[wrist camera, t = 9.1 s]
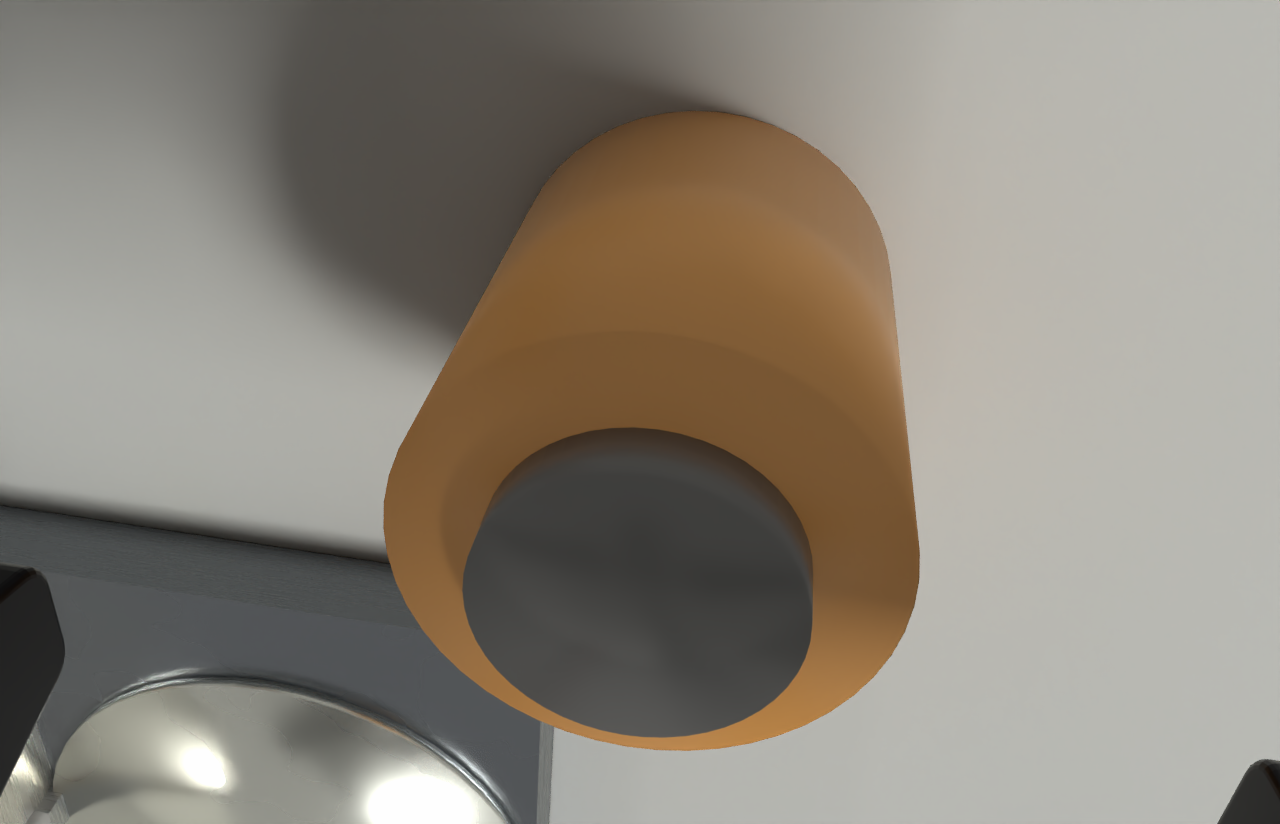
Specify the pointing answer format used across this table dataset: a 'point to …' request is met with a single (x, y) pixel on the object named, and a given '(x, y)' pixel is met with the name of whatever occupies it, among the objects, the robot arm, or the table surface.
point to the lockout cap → (670, 448)
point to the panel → (253, 692)
